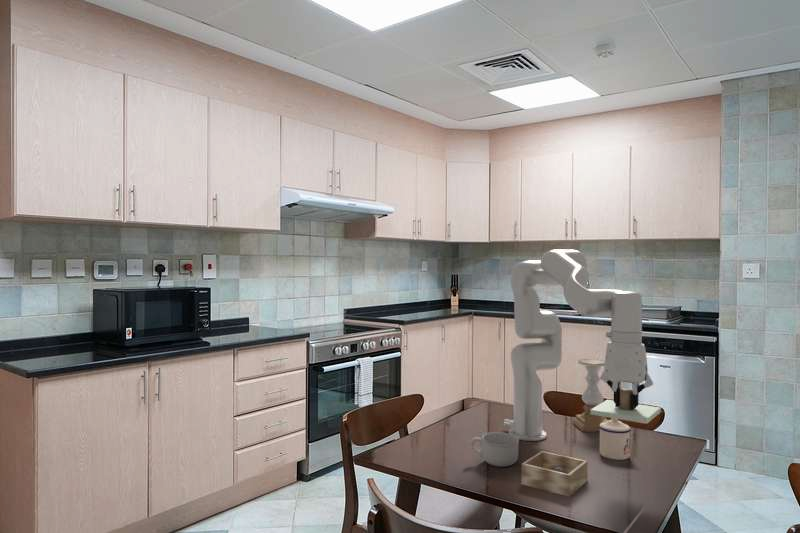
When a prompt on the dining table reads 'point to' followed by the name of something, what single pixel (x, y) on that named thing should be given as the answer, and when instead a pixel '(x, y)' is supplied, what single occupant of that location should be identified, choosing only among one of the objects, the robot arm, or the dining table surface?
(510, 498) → the dining table surface
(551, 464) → the box
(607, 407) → the lid
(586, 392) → the candle holder
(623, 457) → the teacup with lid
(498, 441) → the teacup
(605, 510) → the dining table surface
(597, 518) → the dining table surface
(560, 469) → the ball
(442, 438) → the dining table surface
